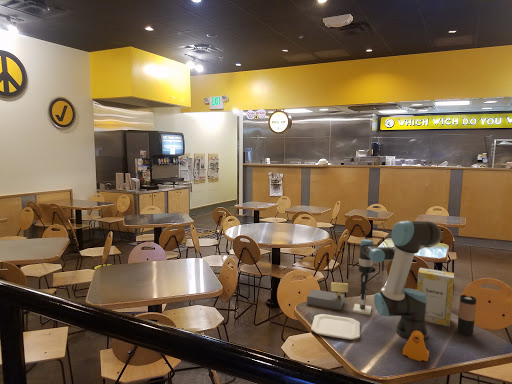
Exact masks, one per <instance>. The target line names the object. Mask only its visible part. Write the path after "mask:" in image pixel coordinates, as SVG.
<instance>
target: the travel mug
mask: <svg viewBox="0 0 512 384" xmlns="http://www.w3.org/2000/svg"><path fill="white" fill-rule="evenodd" d="M459 298H460V299H459V305H458V316H457V333H458V334H459V335H461V336H464V337H473V335H474V334H473V333H474V327H475V326H474V325H475V320H476V318H475V317H476V308H477V298H476V297H474V296H471V295H470V296H467V295H466V294H461V295H460V297H459Z"/></svg>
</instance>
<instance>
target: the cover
mask: <svg viewBox="0 0 512 384" xmlns="http://www.w3.org/2000/svg"><path fill="white" fill-rule="evenodd" d="M366 299H367V291H366V292H365V305H362V304H360V303H354V306H353V308H352V313H355V314H362V315H367V316H371V313H372V307H373V306H371V305H367V304H366V303H367V300H366Z"/></svg>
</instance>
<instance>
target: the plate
mask: <svg viewBox="0 0 512 384" xmlns="http://www.w3.org/2000/svg"><path fill="white" fill-rule="evenodd" d="M310 329H311V331H312V332H314V333H316V334H317V335H320V336H324V337H325V336H326V337H331V338H336V339H341V340H349V341H350V340H356V339H359V338H360V337H361V323H360V321H358V320H357V319H354V318H352V317H345V316H339V315H333V314H325V313H319V314H315V315H314V317H313V321H312V323H311V328H310Z"/></svg>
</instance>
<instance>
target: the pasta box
mask: <svg viewBox="0 0 512 384" xmlns="http://www.w3.org/2000/svg"><path fill="white" fill-rule="evenodd" d="M454 283H455V273H454V272H450V271H443V270H438V269H430V268H424V267H419V269H418V274H417V283H416V285H417V286H416V290H418V291H420V292H422V293H424V294H425V295H426V300H427V304H426V312H425V323H426V322H427V323H430V324H435V325H440V326H445V327H449V328H450V327H451V317H452V304H453V294H454Z"/></svg>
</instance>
